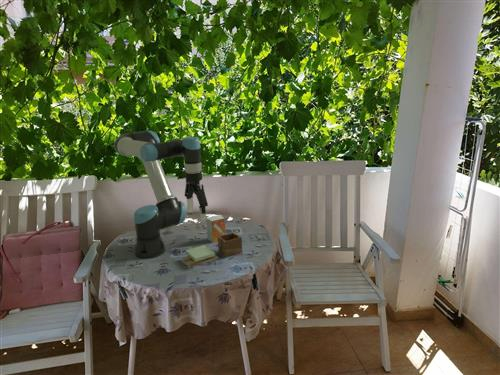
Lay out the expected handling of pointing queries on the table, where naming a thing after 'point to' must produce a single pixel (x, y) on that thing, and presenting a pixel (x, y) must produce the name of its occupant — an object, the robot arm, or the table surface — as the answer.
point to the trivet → (193, 263)
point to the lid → (200, 253)
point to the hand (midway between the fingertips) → (197, 215)
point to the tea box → (230, 244)
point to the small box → (215, 227)
